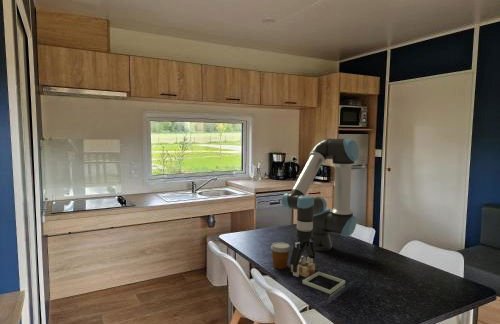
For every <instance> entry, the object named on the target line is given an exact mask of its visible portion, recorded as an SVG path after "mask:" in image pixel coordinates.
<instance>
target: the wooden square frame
mask: <svg viewBox="0 0 500 324" xmlns="http://www.w3.org/2000/svg"><path fill="white" fill-rule="evenodd" d="M298 265H299V276H301V277H304V278H308V277H309V276H311V275H313V274H315V273H316V263H314V262H313V263H311V262H308V261H307V260H306V266H302V265H301V258H300V261H299V264H298ZM290 272H291V273H293V265H291V264H290Z"/></svg>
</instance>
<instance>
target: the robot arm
mask: <svg viewBox="0 0 500 324" xmlns="http://www.w3.org/2000/svg"><path fill="white" fill-rule="evenodd" d="M359 151H360V149H359V146H358V143H357V141H356V140H354V139H352V138H351V139H350V138H325V139H322V140H321V141H319V142H318V143H316V144H315V145H314V146H313V148H312V149H311V150H310V152H309V154H308V159H307V161H306V163H305V165H304V167H303V169H302V171H301V172H300V174H299V175H298V177H297V180H296V182H295V184H294V185H293V187H292V189H291V191H290V192H289V193H287V192H285V193H284V194H283V195H282V197H281V205H282V206H283V207H284V208H286V209H291V210H296V213H297V214H296V233H295V236H296V238H297V239H298V240H297V242H293V249H292V253H291V256H290V261H289V264H290V266H291V265H293V272H292V276H294V277H296V278H298V277H300V275H299V265H298V264H299V261H300V259H301V256H303V255H302V254H303V253H304V252H306V254H307V256H306V261H308V262H311V263H314V260H313V259H316V252H326V251H327V252H328V251H330V250H331V249H332V246H333V245H332V240H331V237H330V233H331V234H336V235H340V236H343V237H344V236H345V237H350V236H352V235H353V234H354V233H355V230H356V227H357V221H358V219H357V217H356V216H355V215H353V213H354V212H353V210H352V208H351V194H352V193H351V192H352V191H351V189H352V187H351V183H352V167H353V166H354V165H355V162H356V161H358V159H359V156H360V152H359ZM326 160H332V161H331V162H332V164H333V166H334V198H333V199H334V201H333V202H334V203H333V204H334V205H333V208H332V209H330V207H329V208H328V207H327V206H328V205H327V204H328V203H327V200H326V199H325V198H324V197H322V196H315V197H313V196H310V195H307V193H308V191H309V189H310V187H311V185H312V183H313V181H314V179H315V178H316V175H317V174H318V172H319V169H320V168H321V166H322V165H323V164H324V163H325V162H326Z"/></svg>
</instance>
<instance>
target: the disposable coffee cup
mask: <svg viewBox="0 0 500 324" xmlns="http://www.w3.org/2000/svg"><path fill="white" fill-rule="evenodd" d="M270 249H271V254H272V265H273V267H274V269H275V268H276V269H280V270H283V269H286V268H287V266H288V260H289V253H290V250H291V247H290V244H289V243H286V242H282V241H276V242H273V243H272V244H271V246H270Z"/></svg>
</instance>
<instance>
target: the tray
mask: <svg viewBox="0 0 500 324" xmlns="http://www.w3.org/2000/svg"><path fill="white" fill-rule="evenodd" d="M318 276H321V277H323V278H326V279H329V280H332V281H334V282H337V283H338V284H336V285H334V286H333V287H331V288H330V289H328V288H326V287H323V286H321V285H318V284H315V283H313V282H310V281H312V280H313V279H314V278H317V277H318ZM301 282H302V283H301V284H303V285H305V286H308V287H311V288H313V289H316V290H319V291H321V292H323V293H326V294H329V296H328V298H332V297H333V296H334V295H336V294H337V293H339V292H340V291H341V290H343V289H344V288H346V280H345V279H342V278H340V277H335V276H333V275H331V274H327V273H324V272H321V271H315V272H314V273H313V275H311V276H310V275H309V276H307V277H305V278H304V279H302V281H301Z"/></svg>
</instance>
